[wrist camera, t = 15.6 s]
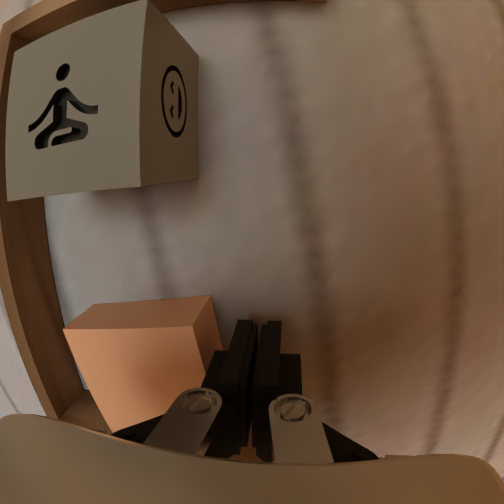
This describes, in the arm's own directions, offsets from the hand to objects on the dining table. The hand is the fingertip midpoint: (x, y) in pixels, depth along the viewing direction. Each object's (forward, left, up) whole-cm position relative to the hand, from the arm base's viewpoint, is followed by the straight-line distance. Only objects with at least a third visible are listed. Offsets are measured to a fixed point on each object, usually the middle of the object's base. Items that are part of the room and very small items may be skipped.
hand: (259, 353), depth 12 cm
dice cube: (+5, -9, -1) cm, 10 cm away
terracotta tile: (+5, +1, -2) cm, 5 cm away
